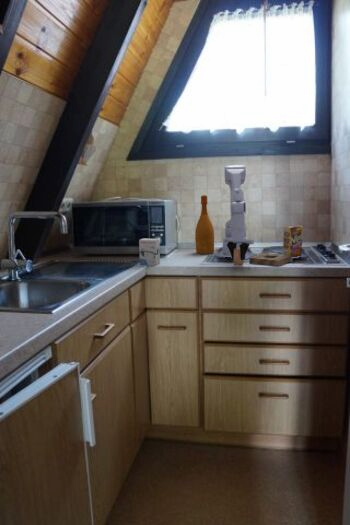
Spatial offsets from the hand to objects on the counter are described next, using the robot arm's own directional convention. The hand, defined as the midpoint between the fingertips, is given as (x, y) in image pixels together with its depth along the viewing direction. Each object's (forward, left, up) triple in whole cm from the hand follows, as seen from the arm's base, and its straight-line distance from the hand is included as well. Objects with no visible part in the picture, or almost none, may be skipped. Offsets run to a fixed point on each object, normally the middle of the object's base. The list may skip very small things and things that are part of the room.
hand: (238, 259), depth 191 cm
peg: (0, 0, -2) cm, 2 cm away
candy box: (+15, +25, -3) cm, 29 cm away
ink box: (-36, -19, -3) cm, 41 cm away
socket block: (+10, +12, -2) cm, 16 cm away
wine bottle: (-30, +18, -3) cm, 35 cm away
